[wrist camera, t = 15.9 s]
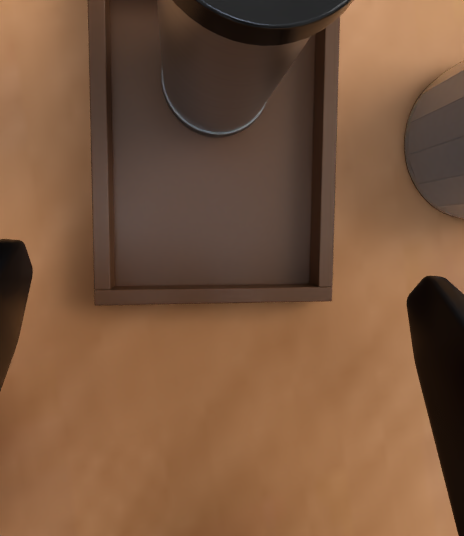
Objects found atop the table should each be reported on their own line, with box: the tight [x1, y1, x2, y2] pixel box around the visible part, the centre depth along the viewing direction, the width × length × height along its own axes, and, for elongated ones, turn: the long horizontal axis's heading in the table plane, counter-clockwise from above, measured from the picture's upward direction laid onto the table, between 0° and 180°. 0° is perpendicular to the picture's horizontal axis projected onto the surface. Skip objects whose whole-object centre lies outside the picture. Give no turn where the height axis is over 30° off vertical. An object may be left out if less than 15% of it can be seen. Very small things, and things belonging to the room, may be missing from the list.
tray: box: [88, 0, 340, 305], centre depth 21 cm, size 17×13×2 cm
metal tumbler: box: [157, 0, 353, 137], centre depth 15 cm, size 6×6×12 cm
